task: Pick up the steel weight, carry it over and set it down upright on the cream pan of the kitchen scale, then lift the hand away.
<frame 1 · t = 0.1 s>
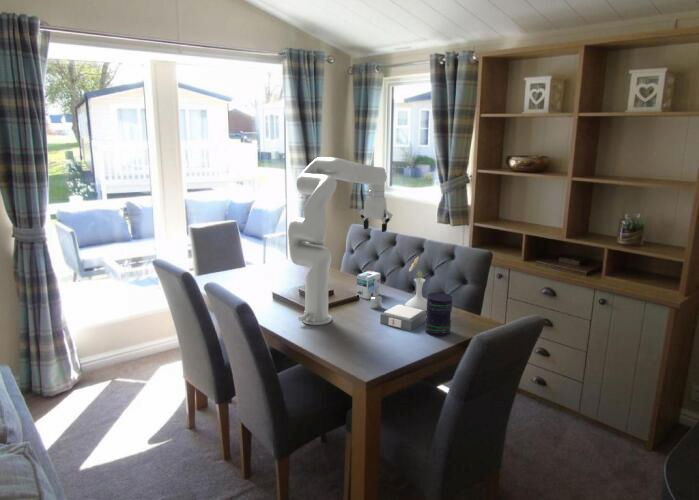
hand: (374, 230, 248), 31 cm above the table, tool pointing down, fingers open, 9 cm apart
storage jar: (437, 332, 209), on the table
light bulb box: (368, 295, 252), on the table
steel weight: (375, 307, 235), on the table
flower in vase: (417, 310, 234), on the table
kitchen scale: (403, 321, 219), on the table
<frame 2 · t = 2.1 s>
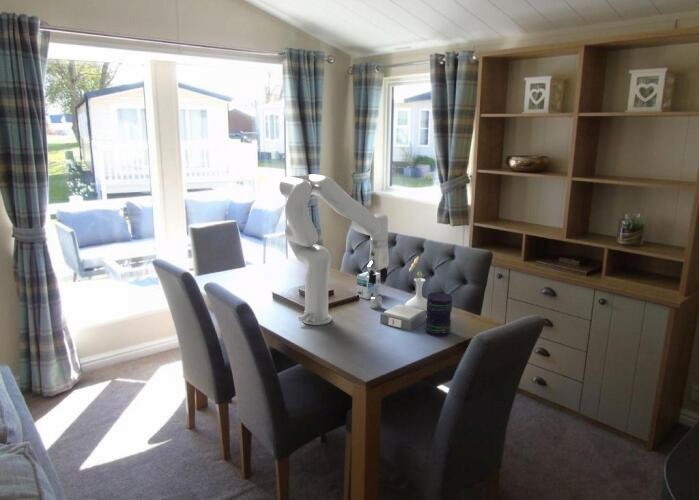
hand: (378, 280, 233), 13 cm above the table, tool pointing down, fingers open, 9 cm apart
nothing on the table moved.
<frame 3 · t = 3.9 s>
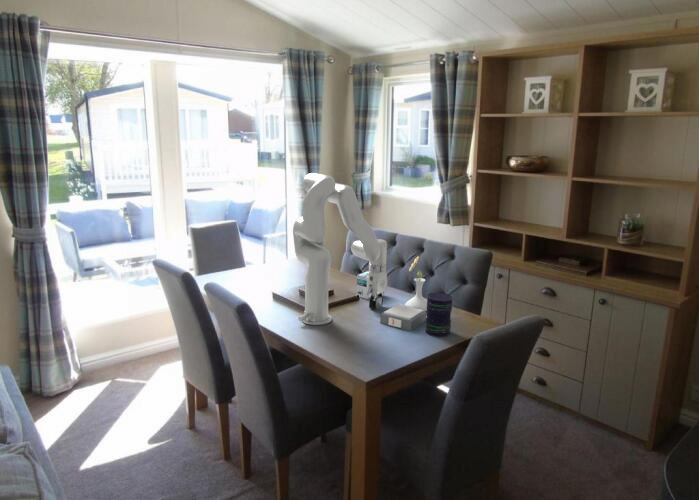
hand: (375, 306, 235), 1 cm above the table, tool pointing down, fingers closed on steel weight, 5 cm apart
steel weight: (375, 307, 235), on the table, touching gripper
everything else where it was.
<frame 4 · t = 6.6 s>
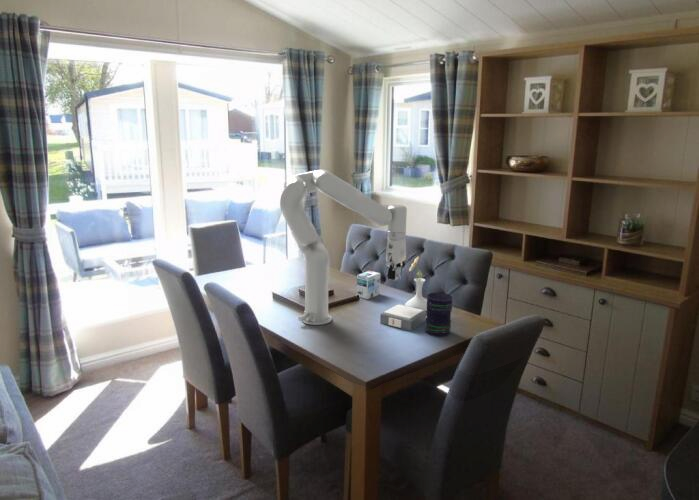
hand: (394, 277, 221), 17 cm above the table, tool pointing down, fingers closed on steel weight, 5 cm apart
steel weight: (394, 278, 221), point 17 cm above the table, touching gripper
everything else where it was.
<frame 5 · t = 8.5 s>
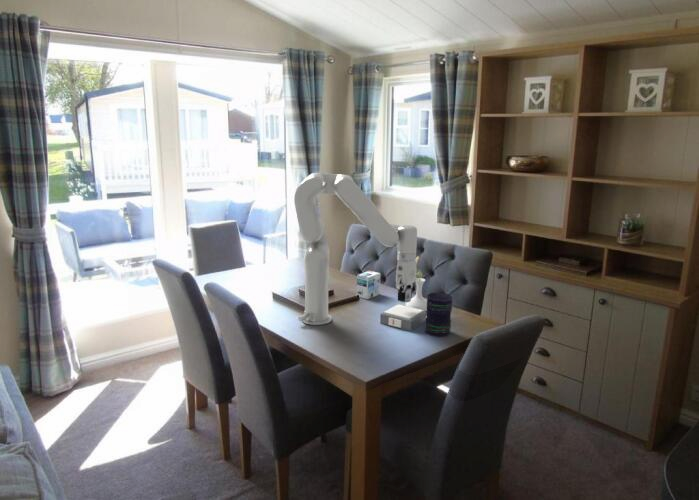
hand: (404, 298, 217), 10 cm above the table, tool pointing down, fingers closed on steel weight, 5 cm apart
steel weight: (404, 300, 217), point 9 cm above the table, touching gripper
everything else where it was.
when the fingers open (6 cm above the table, at t = 9.8 s): steel weight stays where it is, resting on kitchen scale.
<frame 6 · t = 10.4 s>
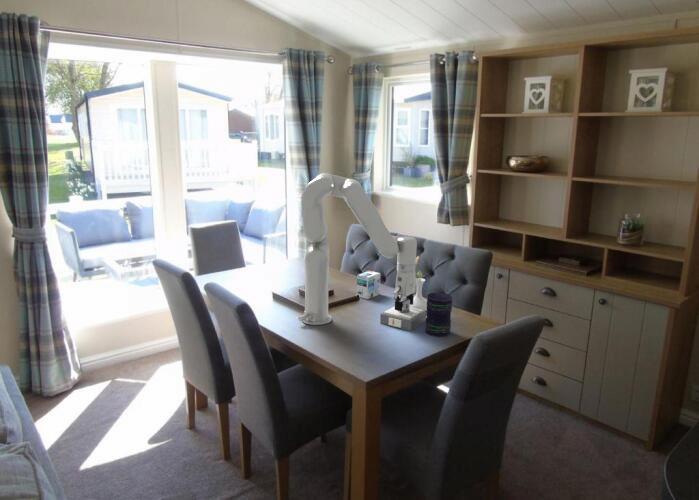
hand: (404, 307, 218), 7 cm above the table, tool pointing down, fingers open, 9 cm apart
steel weight: (403, 311, 218), point 5 cm above the table, touching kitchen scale
everything else where it was.
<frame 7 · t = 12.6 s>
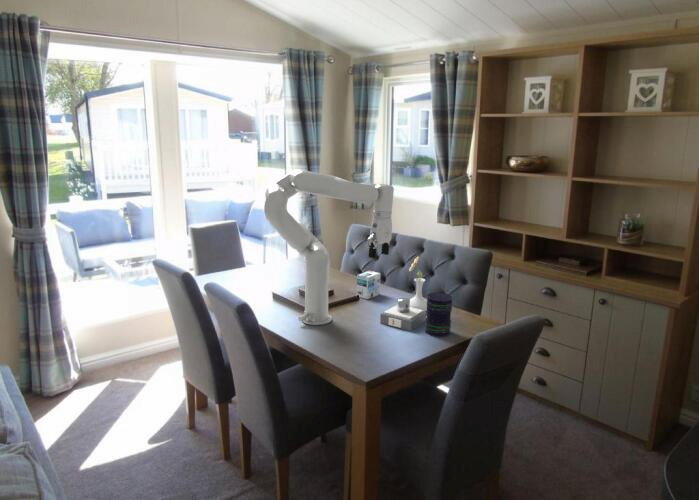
hand: (378, 255, 218), 27 cm above the table, tool pointing down, fingers open, 9 cm apart
nothing on the table moved.
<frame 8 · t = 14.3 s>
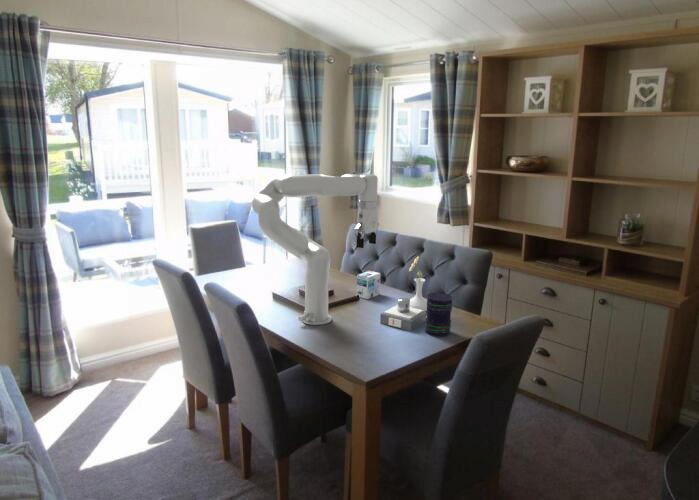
hand: (366, 245, 220), 30 cm above the table, tool pointing down, fingers open, 9 cm apart
nothing on the table moved.
at the end: steel weight inside the target area on the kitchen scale (0.1 cm from its centre), point 4.8 cm above the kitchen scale's base; steel weight tilted 1°; the gripper is holding nothing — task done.
